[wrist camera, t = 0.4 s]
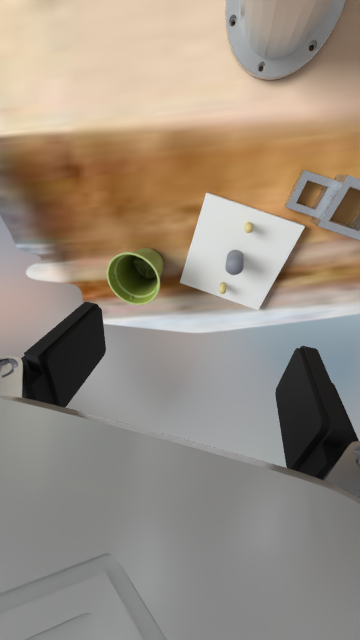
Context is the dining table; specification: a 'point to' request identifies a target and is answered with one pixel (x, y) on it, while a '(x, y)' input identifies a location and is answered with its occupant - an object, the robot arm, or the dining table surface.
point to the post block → (238, 250)
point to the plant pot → (136, 275)
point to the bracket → (326, 201)
